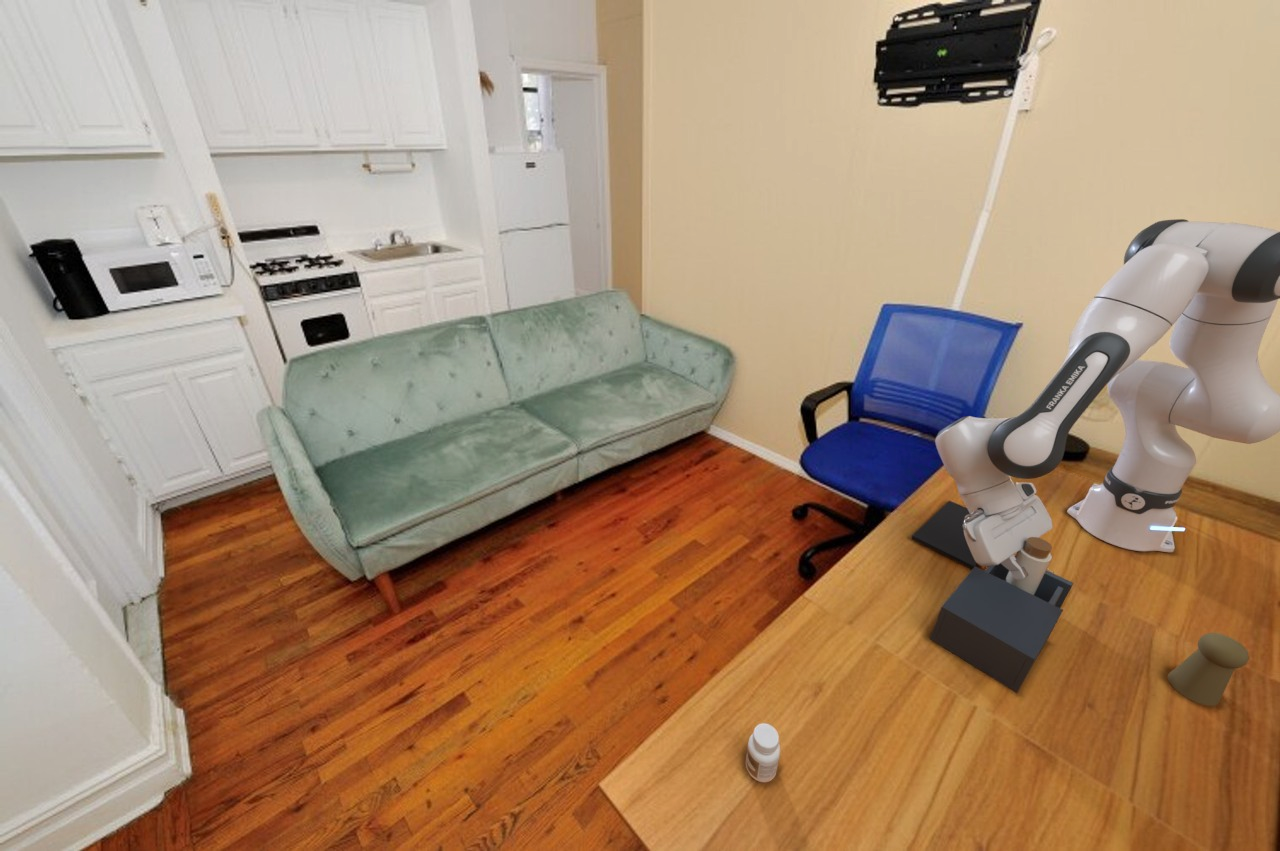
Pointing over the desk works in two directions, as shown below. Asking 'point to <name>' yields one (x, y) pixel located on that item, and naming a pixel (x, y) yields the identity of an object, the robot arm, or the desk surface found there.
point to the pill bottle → (763, 753)
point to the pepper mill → (1032, 564)
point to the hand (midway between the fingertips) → (1031, 571)
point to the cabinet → (995, 627)
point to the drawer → (1041, 585)
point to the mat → (947, 534)
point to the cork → (1208, 669)
